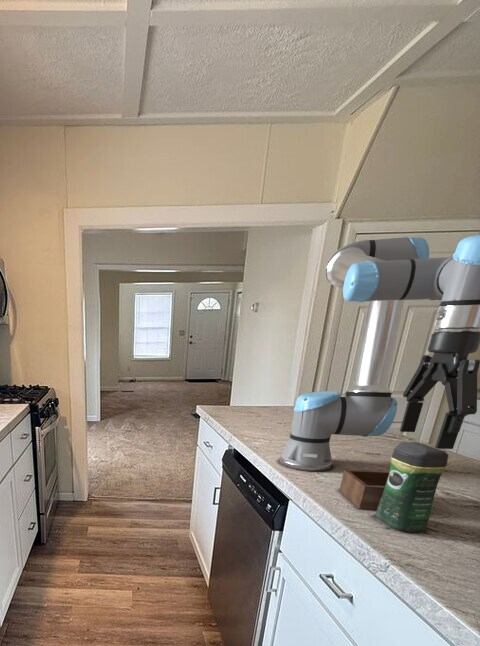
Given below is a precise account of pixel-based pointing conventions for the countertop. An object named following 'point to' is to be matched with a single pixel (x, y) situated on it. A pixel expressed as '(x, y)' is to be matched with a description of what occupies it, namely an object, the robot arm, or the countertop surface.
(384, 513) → the coffee jar
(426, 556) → the countertop surface
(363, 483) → the holder
